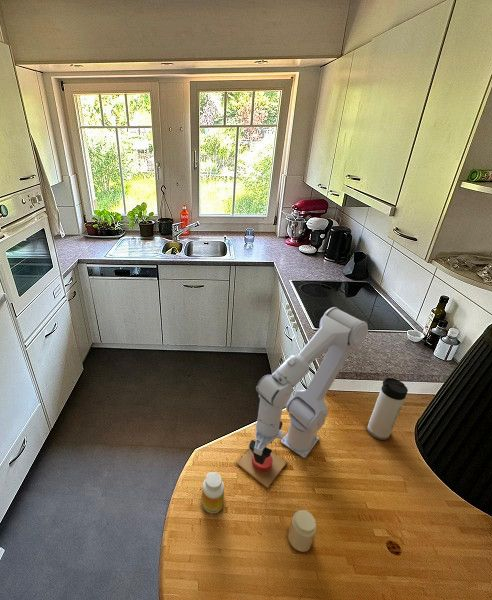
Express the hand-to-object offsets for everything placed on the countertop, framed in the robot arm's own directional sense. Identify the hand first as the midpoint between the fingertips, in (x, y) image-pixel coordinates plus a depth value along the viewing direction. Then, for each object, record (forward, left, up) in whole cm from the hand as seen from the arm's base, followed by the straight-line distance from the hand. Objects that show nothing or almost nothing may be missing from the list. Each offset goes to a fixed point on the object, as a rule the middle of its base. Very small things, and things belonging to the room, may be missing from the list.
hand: (263, 451), depth 90 cm
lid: (0, 0, -4) cm, 4 cm away
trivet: (0, 0, -6) cm, 6 cm away
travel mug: (-35, +20, -6) cm, 41 cm away
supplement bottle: (+18, -3, -6) cm, 19 cm away
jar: (+10, +17, -6) cm, 20 cm away
